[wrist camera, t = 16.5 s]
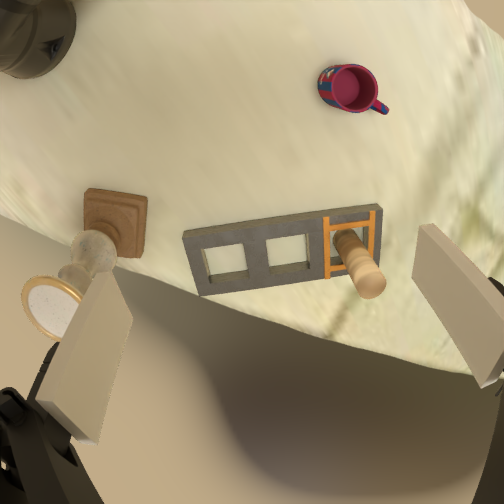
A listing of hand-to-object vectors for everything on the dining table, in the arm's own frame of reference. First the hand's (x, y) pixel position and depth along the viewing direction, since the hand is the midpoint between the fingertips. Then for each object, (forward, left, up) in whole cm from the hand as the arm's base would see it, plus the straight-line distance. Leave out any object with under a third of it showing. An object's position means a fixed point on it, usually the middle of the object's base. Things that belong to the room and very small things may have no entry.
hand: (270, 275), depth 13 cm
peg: (+21, +14, -37) cm, 45 cm away
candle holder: (+11, -24, -37) cm, 45 cm away
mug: (-4, +16, -37) cm, 41 cm away
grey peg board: (+21, +4, -37) cm, 42 cm away
